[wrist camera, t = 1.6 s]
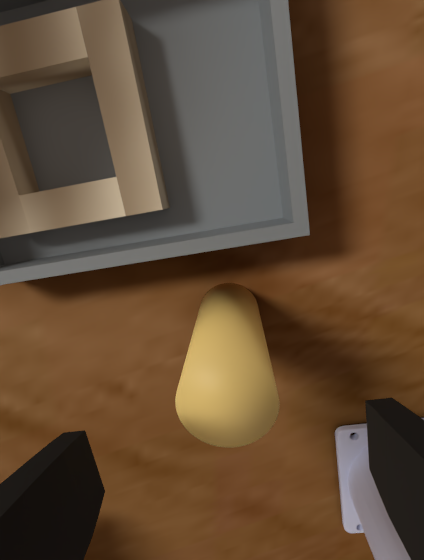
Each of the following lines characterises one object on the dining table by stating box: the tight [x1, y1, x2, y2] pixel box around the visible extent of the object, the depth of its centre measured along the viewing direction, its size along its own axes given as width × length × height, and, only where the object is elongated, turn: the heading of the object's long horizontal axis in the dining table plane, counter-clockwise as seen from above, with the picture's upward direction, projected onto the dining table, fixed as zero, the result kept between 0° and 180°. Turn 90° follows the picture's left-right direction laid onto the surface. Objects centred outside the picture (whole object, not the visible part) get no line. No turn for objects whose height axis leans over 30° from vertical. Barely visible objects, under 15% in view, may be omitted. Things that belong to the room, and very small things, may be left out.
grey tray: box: [0, 0, 310, 285], centre depth 14 cm, size 16×12×3 cm
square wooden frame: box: [0, 0, 170, 238], centre depth 14 cm, size 8×8×2 cm
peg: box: [175, 283, 279, 447], centre depth 14 cm, size 3×3×8 cm
